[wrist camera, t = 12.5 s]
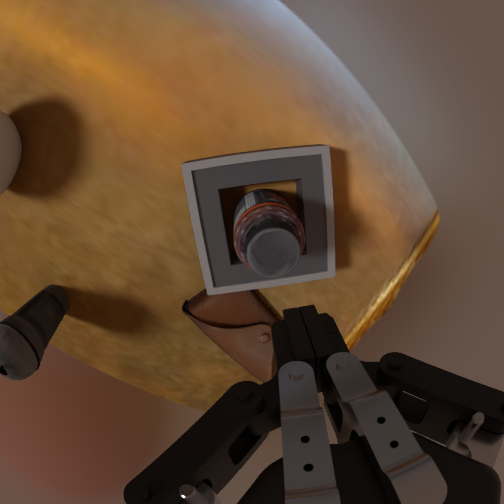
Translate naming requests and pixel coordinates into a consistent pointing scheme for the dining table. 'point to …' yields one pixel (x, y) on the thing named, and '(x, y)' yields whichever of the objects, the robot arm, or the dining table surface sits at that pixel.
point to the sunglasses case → (237, 328)
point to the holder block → (253, 172)
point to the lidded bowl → (8, 151)
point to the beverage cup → (30, 332)
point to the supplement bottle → (267, 234)
